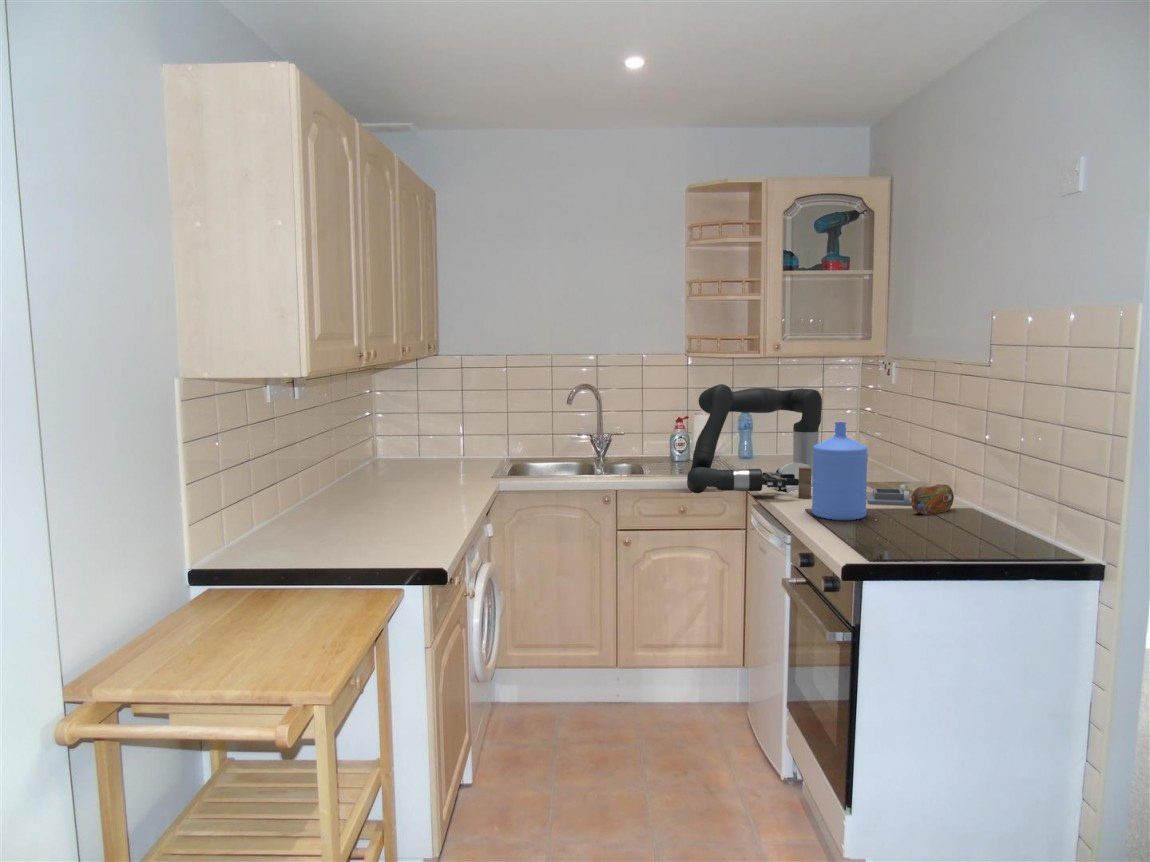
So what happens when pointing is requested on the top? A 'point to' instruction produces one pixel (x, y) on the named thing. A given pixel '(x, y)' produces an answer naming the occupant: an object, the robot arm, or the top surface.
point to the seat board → (889, 496)
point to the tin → (932, 499)
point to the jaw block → (804, 482)
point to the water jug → (839, 477)
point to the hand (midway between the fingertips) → (796, 479)
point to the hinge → (791, 469)
